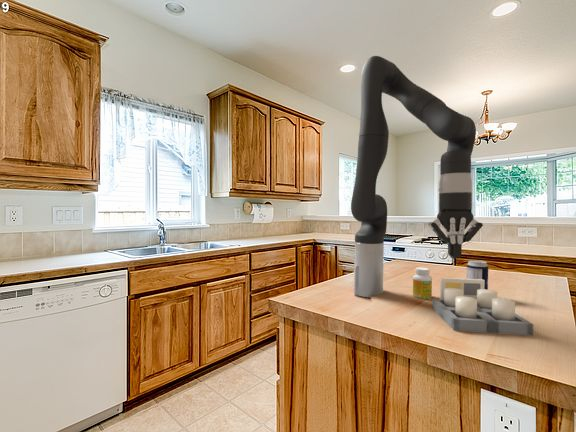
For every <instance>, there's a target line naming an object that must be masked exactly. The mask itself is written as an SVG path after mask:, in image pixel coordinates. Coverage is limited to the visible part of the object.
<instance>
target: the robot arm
mask: <svg viewBox="0 0 576 432" xmlns="http://www.w3.org/2000/svg"><path fill="white" fill-rule="evenodd" d="M383 94H385V95H387V96H390V97H392V98H395V99H396V100H397V101H399V103H401V104H402V105H403V107H404V109H406V110H407V111H408V113H410V114H411V115H412V116H413V117H415V118H416V119H417V120H419V121H420V122H422V123H423V124H425V126H426V127H427V128H429V130H430V131H432V133H433V134H434V135H435V136H437V137H438V138H439V139H441V140H443V141H446V142H447V148H446V152H444V153H442V154H441V156H440V167H439V168H440V173H439V183H438V213H437V215H436V219H434V220H432V221H429V222H428V227H429V228H430V229H431V230H432V231H433V232H434V233H435V234H436V235H435V236H437V237H438V238H439V240H440V241H443V242H445V243H447V254H448V257H449V258H450V259H454V260H456V259H458V260H459V259H460V257H462V254H463V253H462V247H463V243H469V242H470V241H471V240H472V239H473V238H474V237H475V236H476V234H478V232H479V231H480V230H481V228H482V227H483V225H484V224H483V223H482V222H479V221H477V220H476V219H475V218H474V214H473V212H472V209H473V180H472V179H473V178H472V153H473V151H474V146H475V141H476V136H477V128H476V123H475V121H474V120H473V119H472V118H471V117H469V116H466V115H464V114H462V113H459V112H458V111H456V110H454V109H453V108H451V107H449V106H447V104H446V103H445V102H444V101H443V100H442V99H441V98H439V97H437V96H436V95H434V94H433V93H431V92H430V91H428V90H426V89H424V88H423V87H421V86H419V85H418V84H416V83H414V82H413V81H412V80H410V79H409V78H408V77H407V76H406V75H405V73H403V72H402V70H400V69H399V67H398V66H397V65H396V64H395V63H394V62H392V61H390V60H388V59H387V58H384V57H382V56H380V55H373V56H371V57H369V58H368V59H367V60H366V61H365V62H364V64H363V67H362V69H361V73H360V117H359V118H360V121H359V122H360V123H359V132H358V133H359V134H358V143H357V157H356V159H357V161H356V169H355V179H354V186H353V190H352V191H353V192H352V196H351V201H350V204H351V205H350V213H351V215H352V216H353V218H354V219H355V220H356V221H358V222H360V225H361V226H360V229H359V230H358V231H357V232H355V235H354V263H353V292H354V293H353V294H354V296H358V297H362V298H371V296H380V295H382V294H384V257H385V256H384V250H385V249H384V248H385V246H384V245H385V244H384V239H385V236H386V234H387V226H388V225H387V224H388V205H387V201H386V200H385V198H384V197H383V196H382V195H380V194H377V193H376V190H377V188H376V187H377V179H378V176H379V173H380V171H381V169H382V166H383V164H384V163H385V160H386V157H387V154H388V147H389V135H390V134H389V133H390V132H389V126H388V123H387V119H386V115H385V111H384V108H383V101H382V99H383ZM441 226H442V227H443V228H444V230H445V233H444V231H442V229H441ZM468 226H469V228H468V229H467V227H468ZM466 229H467V230H466ZM465 230H466V232H465Z"/></svg>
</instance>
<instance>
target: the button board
mask: <svg viewBox="0 0 576 432" xmlns="http://www.w3.org/2000/svg"><path fill="white" fill-rule="evenodd" d="M439 281H440V289H439V290H440V291H439V293H440V294H439V298H432V309H433V311H435V312H436V313H437V314H438V315H439V317H441V318H442V320H443V321H444V322H445V323H446V324H447V325H448V326H449V328H451V329H452V330H453V331H456V332H457V331H458V332H471V333H487V334H502V335H515V336H516V335H518V336H534V323H532V322H530V321H529V320H528V319H525V318H523V317H522V316H520V315H518V314H517V313H515V321H504V320H498V319H495V318H493V317H492V309H483V308H480V307H478V306H477V318H476V319H471V318H461V317H458V316H456V315H455V307H449V306H446V305H444V289H445V288H457V289H461V290H463V296H466V297H471V298H475V299H477V290H478V289H484V284H485V280H481V279H467V278H456V277H455V278H452V277H451V278H450V277H440V280H439Z"/></svg>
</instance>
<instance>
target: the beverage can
mask: <svg viewBox="0 0 576 432" xmlns="http://www.w3.org/2000/svg"><path fill="white" fill-rule="evenodd" d="M466 279H481V280H485V284H484V289H487V290H489V265H488V263H487V261H483V260H476V259H475V260H473V259H472V260H471V259H470V260H468V262H467V264H466Z"/></svg>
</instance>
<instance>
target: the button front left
mask: <svg viewBox="0 0 576 432" xmlns="http://www.w3.org/2000/svg"><path fill="white" fill-rule="evenodd" d="M455 315H456V316H458V317H461V318H471V319H476V318H477V299H475V298H471V297H466V296H457V297H456V302H455Z"/></svg>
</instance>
